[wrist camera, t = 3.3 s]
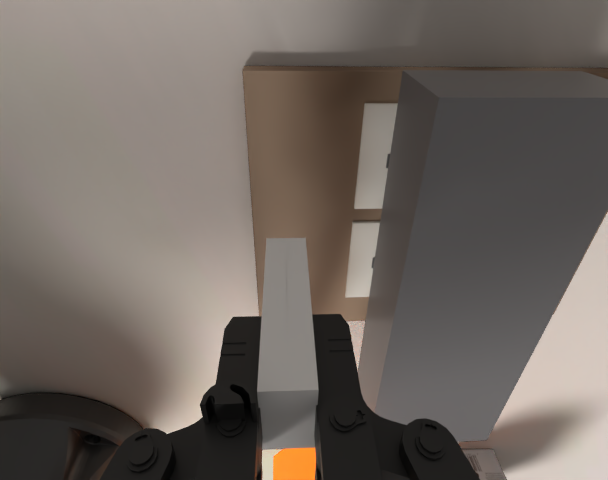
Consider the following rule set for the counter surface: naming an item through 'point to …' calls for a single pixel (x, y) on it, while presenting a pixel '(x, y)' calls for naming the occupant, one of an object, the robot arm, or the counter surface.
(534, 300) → the swing arm
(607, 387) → the counter surface
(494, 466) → the coffee box
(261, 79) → the label board
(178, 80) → the counter surface
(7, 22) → the counter surface
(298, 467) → the orange juice
